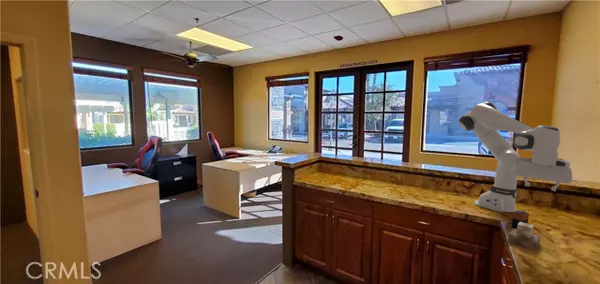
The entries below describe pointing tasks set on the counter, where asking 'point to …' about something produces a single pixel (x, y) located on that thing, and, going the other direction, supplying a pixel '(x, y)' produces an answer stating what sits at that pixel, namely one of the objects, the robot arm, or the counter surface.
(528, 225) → the maple cube
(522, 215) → the battery
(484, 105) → the robot arm
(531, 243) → the walnut block
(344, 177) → the counter surface
